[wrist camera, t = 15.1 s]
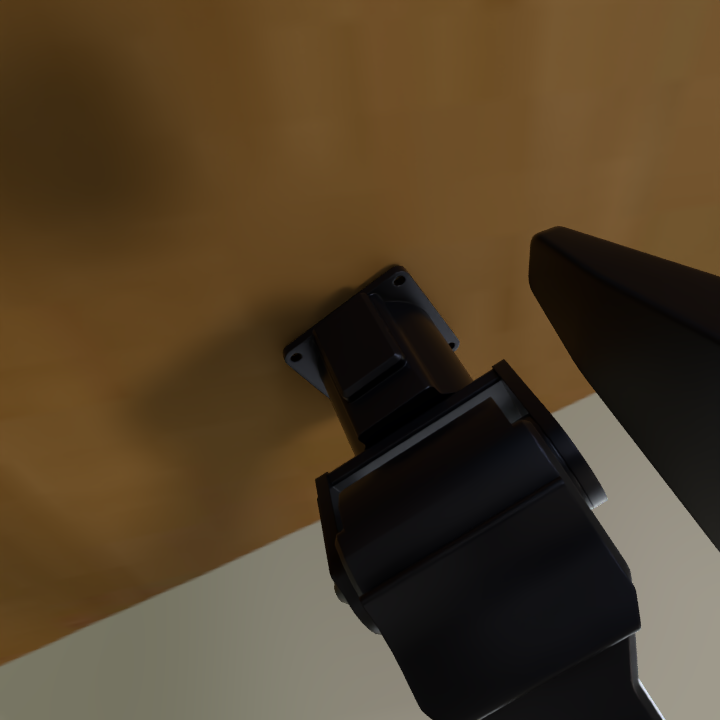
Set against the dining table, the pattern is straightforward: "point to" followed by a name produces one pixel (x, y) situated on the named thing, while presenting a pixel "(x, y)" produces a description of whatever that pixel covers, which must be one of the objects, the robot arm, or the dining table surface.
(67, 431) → the dining table surface
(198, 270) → the dining table surface
